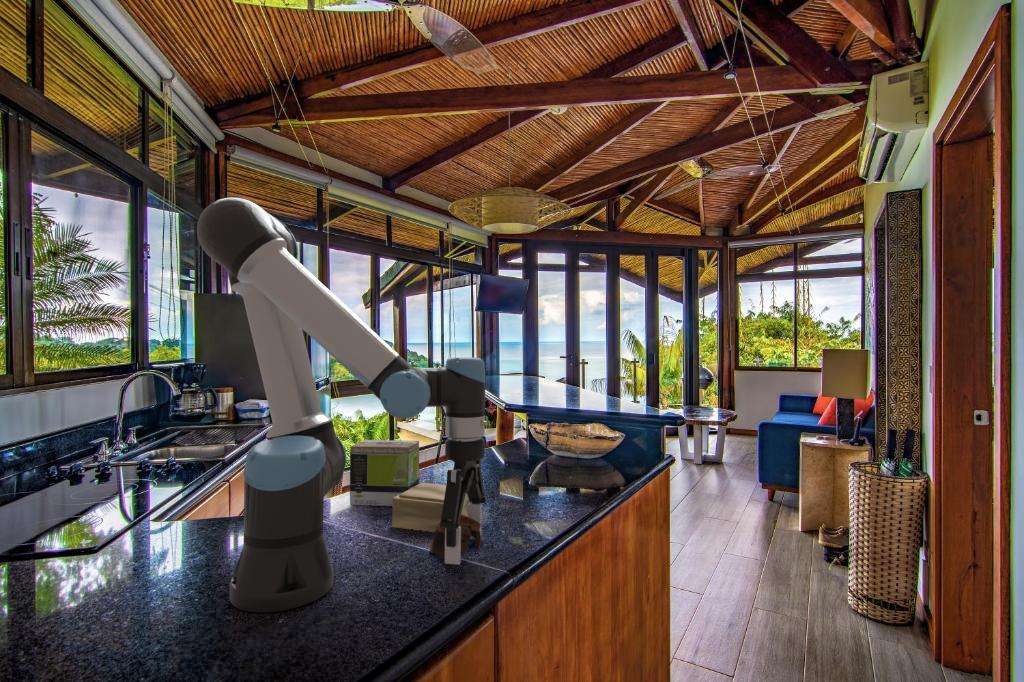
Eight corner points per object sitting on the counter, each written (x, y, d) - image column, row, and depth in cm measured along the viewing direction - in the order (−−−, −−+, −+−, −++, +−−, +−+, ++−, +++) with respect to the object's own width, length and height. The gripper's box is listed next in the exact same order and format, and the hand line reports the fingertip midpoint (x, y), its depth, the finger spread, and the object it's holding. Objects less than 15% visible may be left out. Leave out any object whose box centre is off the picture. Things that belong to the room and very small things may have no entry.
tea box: (419, 496, 135) (420, 439, 135) (408, 508, 125) (409, 447, 125) (363, 494, 137) (364, 438, 137) (348, 505, 127) (349, 445, 127)
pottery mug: (420, 549, 101) (436, 507, 105) (462, 565, 104) (477, 524, 107) (438, 555, 91) (456, 509, 94) (485, 573, 94) (500, 527, 97)
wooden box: (447, 535, 108) (447, 501, 109) (392, 528, 112) (392, 495, 112) (470, 516, 121) (470, 486, 121) (420, 510, 125) (420, 481, 125)
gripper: (464, 451, 87) (462, 579, 86) (499, 428, 111) (498, 528, 111) (421, 449, 88) (420, 574, 88) (466, 427, 113) (465, 525, 112)
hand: (464, 549), depth 99 cm, fingers open, 13 cm apart
